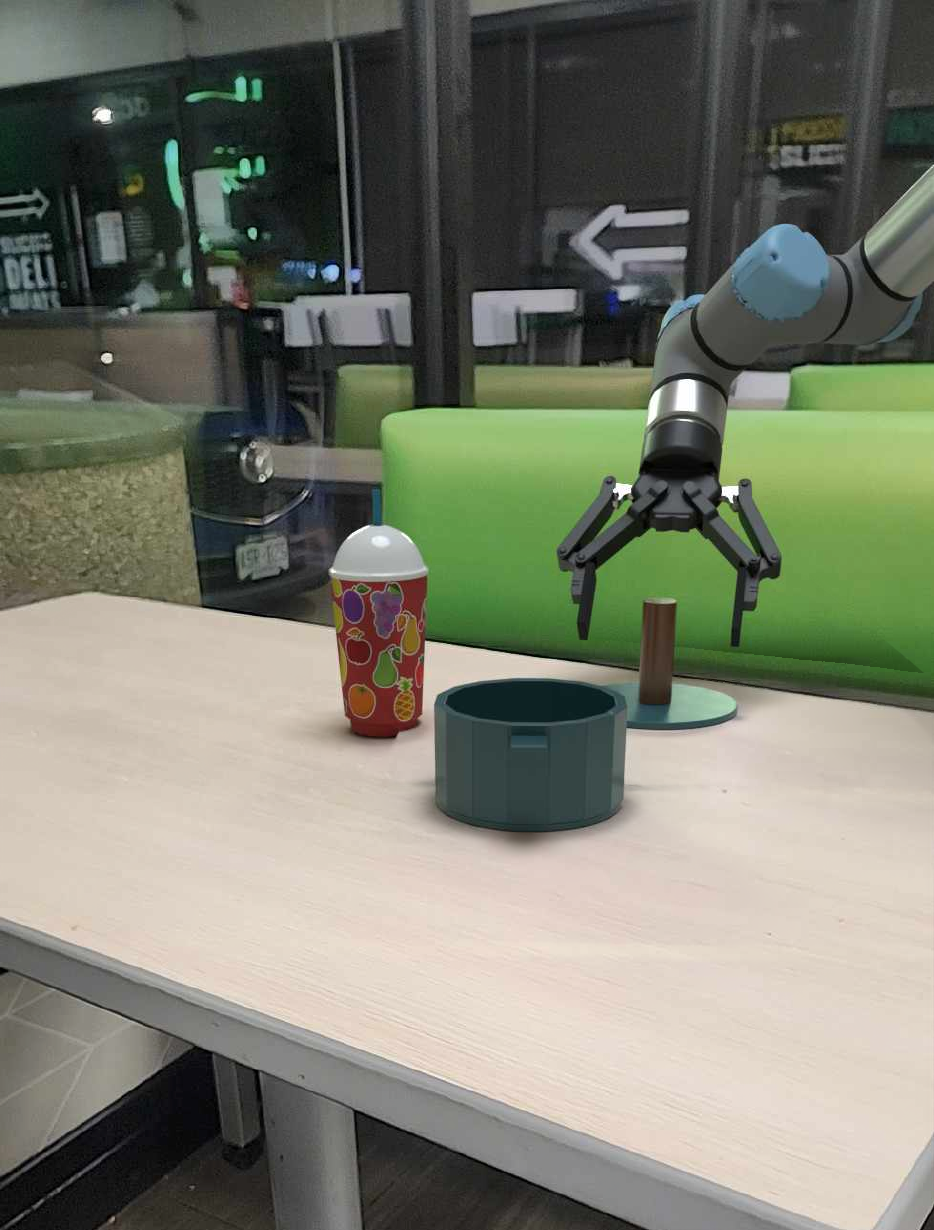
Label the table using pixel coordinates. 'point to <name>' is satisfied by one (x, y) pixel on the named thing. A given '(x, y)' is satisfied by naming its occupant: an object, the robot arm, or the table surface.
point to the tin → (530, 753)
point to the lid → (667, 680)
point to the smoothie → (380, 627)
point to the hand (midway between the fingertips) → (657, 635)
